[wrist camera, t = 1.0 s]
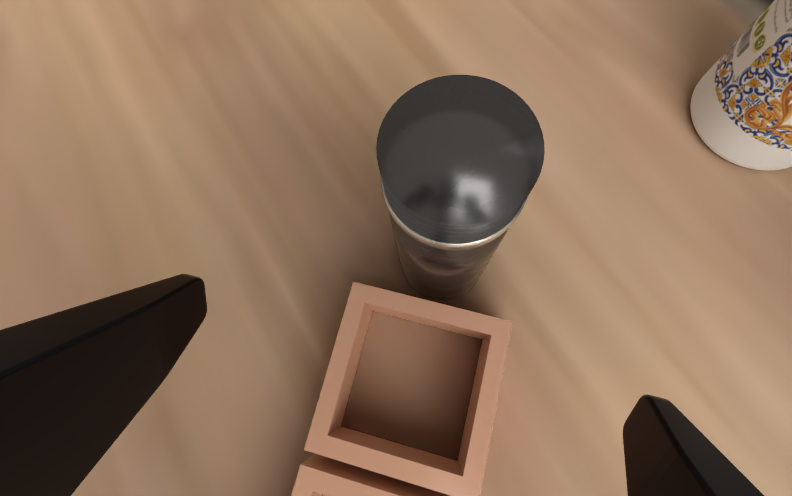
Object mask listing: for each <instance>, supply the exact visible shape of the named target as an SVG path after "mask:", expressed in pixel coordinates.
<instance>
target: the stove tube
mask: <svg viewBox="0 0 792 496" xmlns="http://www.w3.org/2000/svg"><path fill="white" fill-rule="evenodd" d="M376 149H377V160H378V165H379V169H380V174H381V182H382V189H383V194H384V198H385V202H386V205H387V207H388V210H389V213H390V217H391V222H392V226H393V231H394V235H395V239H396V244H397V248H398V252H399V257H400V261H401V265H402V270H403V273H404V275H405V277H406V279H407V281H408V282H409V283H410V285H411V286H412V287H413V288H414V289H416V290H417V291H418V292H420V293H421V294H423V295H425V296H427V297H430V298H435V299H451V298H455V297H458V296H460V295H462V294H464V293H466V292H467V291H469V290H470V289H471V288H472V287H473V286H474V285H475V283H476V282H477V280H478V279H479V277H480V276H481V274H482V272H483V271H484V269H485V267H486V265H487V264H488V262H489V260H490V259H491V257H492V255H493V254H494V252H495V250H496V249H497V247H498V245H499V244H500V242H501V240H502V239H503V237H504V235H505V234H506V232H507V230H508V229H509V227H510V226H511V225H512V224H513V222H514V221H515V220H516V218H517V217H518V215H519V213H520V212H521V210H522V208H523V206H524V204H525V202H526V200H527V197H528V195H529V193H530V192H531V190H532V188H533V187H534V185H535V183H536V181H537V179H538V177H539V175H540V172H541V169H542V165H543V160H544V140H543V134H542V131H541V128H540V125H539V122H538V120H537V118H536V116H535V115H534V113H533V112H532V110H531V109H530V107H529V106H528V105H527V104H526V103H525V102H524V101H523V99H522V98H520V97H519V96H518V95H517V94H516V93H514V92H513V91H511V90H510V89H508V88H507V87H505V86H503V85H501V84H499V83H497V82H495V81H492V80H489V79H486V78H482V77H478V76H471V75H450V76H443V77H438V78H434V79H431V80H428V81H425V82H423V83H421V84H419V85H417V86H415V87H414V88H412V89H410V90H409V91H407V92H406V93H405V94H404V95H402V96H401V97H400V98H399V99H398V100H397V101H396V102H395V103H394V104H393V105H392V107H391V108H390V110H389V111H388V112H387V114H386V116H385V118H384V119H383V122H382V124H381V127H380V129H379V134H378V138H377V148H376Z"/></svg>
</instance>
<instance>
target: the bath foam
mask: <svg viewBox="0 0 792 496" xmlns="http://www.w3.org/2000/svg"><path fill="white" fill-rule="evenodd" d="M690 110H691V117H692V121H693V124H694V127H695V129H696V131H697V133H698V135H699V136H700V138H701V139H702V140H703V141H704V143H705V144H706V145H707V146H708V147H709V148H710V149H711V150H712V151H714V152H715V153H716V154H718V155H719V156H721V157H722V158H724V159H726V160H727V161H729V162H732V163H734V164H736V165H739V166H742V167H746V168H750V169H756V170H780V169H785V168H789V167H792V0H774V1H773V2H772V3H771V4H770V5H769V6H768V8H767V9H766V10H765V11H764V12H763V13H762V14H761V15H760V16H759V17H758V18H757V19H756V20H755V21H754V22H753V23H752V24H751V25H750V27H749V28H748V29H747V30H746V31H745V32H744V33H743V34H742V35H741V36H740V37H739V38H738V39H737V40H736V41H735V42H734V43H733V44H732V46H731V47H730V48H729V49H728V50H727V51H726V52H725V53H724V54H723V56H722V57H721V58H720V59H719V60H718V61H717V62H716V63H715V64H714V65H713V66H712V67H711V68H710V69H709V70H708V71H707V72H706V73H705V75H704V76H703V77H702V78H701V79H700V81H699V82H698V84H697V85H696V87H695V89H694V92H693V94H692V98H691V105H690Z"/></svg>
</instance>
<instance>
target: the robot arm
mask: <svg viewBox="0 0 792 496" xmlns="http://www.w3.org/2000/svg"><path fill="white" fill-rule="evenodd" d="M206 313H207V303H206V294H205V285H204V282H203V280H202V279H201V278H199V277H196V276H192V275H188V274H180V275H177V276H174V277H171V278H167V279H164V280H161V281H158V282H154V283H151V284H148V285H145V286H142V287H138V288H135V289H132V290H129V291H125V292H122V293H119V294H116V295H112V296H109V297H106V298H103V299H99V300H96V301H93V302H90V303H87V304H83V305H80V306H77V307H74V308H70V309H67V310H64V311H61V312H57V313H54V314H51V315H48V316H44V317H41V318H38V319H35V320H31V321H28V322H25V323H22V324H19V325H15V326H12V327H9V328H6V329H2V330H0V496H71V495H72V493H73V492H74V491H75V490H76V488H77V487H78V486H79V485H80V484H81V482H82V481H83V480H84V479H85V477H86V476H87V475H88V474H89V472H90V471H91V470H92V469H93V467H94V466H95V465H96V464H97V462H98V461H99V460H100V459H101V458H102V456H103V455H104V454H105V453H106V451H107V450H108V449H109V448H110V446H111V445H112V444H113V443H114V441H115V440H116V439H117V438H118V436H119V435H120V434H121V433H122V432H123V430H124V429H125V428H126V427H127V425H128V424H129V423H130V422H131V420H132V419H133V418H134V417H135V415H136V414H137V413H138V412H139V410H140V409H141V408H142V407H143V406H144V404H145V403H146V402H147V401H148V399H149V398H150V397H151V396H152V394H153V393H154V392H155V391H156V389H157V388H158V387H159V386H160V384H161V383H162V382H163V380H164V379H165V378H166V376H167V375H168V374H169V372H170V371H171V369H172V368H173V366H174V365H175V363H176V362H177V360H178V359H179V357H180V356H181V354H182V352H183V351H184V349H185V348H186V346H187V345H188V343H189V342H190V340H191V339H192V337H193V336H194V334H195V333H196V331H197V329H198V328H199V326H200V325H201V323H202V322H203V320H204V318H205V316H206ZM623 443H624V455H625V467H626V479H627V491H628V496H764V495H763V494H762V493H761V492H760V491H759V490H758V489H757V488H756V487H755V486H754V485H753V484H752V483H751V482H750V481H749V480H748V479H747V478H746V477H745V476H744V475H743V474H742V473H741V472H740V471H739V470H738V469H737V468H736V467H735V466H734V465H733V464H732V463H731V462H730V461H729V460H728V459H727V458H726V457H725V456H724V455H723V454H722V453H721V452H720V451H719V450H718V449H717V448H716V447H715V446H714V445H713V444H712V443H711V442H710V441H709V440H708V439H707V438H706V437H705V436H704V435H703V434H702V433H701V432H700V431H699V430H698V429H697V428H696V427H695V426H694V425H693V424H692V423H691V422H690V421H689V420H688V419H687V418H686V417H685V416H684V415H683V414H682V413H681V412H680V411H679V410H678V409H677V408H676V407H675V406H674V405H673V404H672V403H671V402H670V401H668V400H666V399H663V398H659V397H655V396H652V395H643V396H642V397H641V398H640V399H639V400H638V402H637V404H636V405H635V407H634V408H633V410H632V412H631V413H630V415H629V417H628V418H627V420H626V422H625V424H624V428H623Z"/></svg>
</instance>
